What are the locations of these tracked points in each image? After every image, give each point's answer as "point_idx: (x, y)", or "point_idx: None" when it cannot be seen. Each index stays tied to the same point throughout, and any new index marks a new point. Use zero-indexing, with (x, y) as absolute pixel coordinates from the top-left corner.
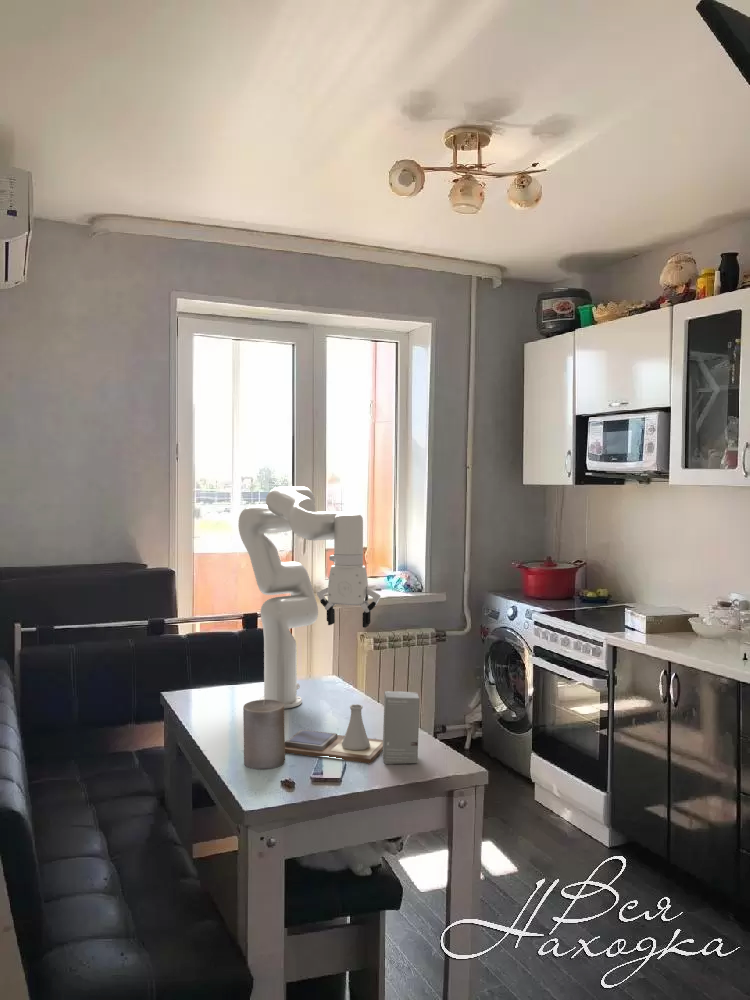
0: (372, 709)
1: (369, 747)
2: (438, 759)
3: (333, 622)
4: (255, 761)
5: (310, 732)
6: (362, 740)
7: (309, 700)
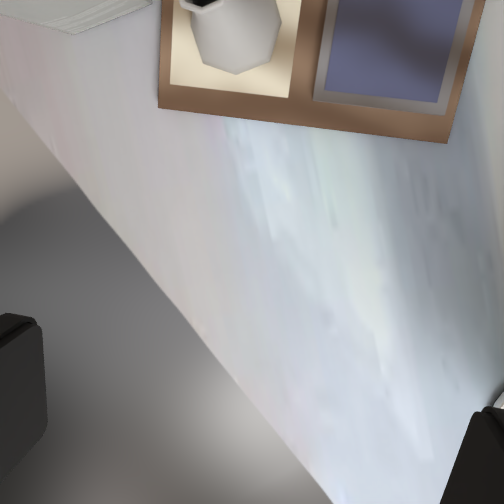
0: (270, 392)
1: None
2: None
3: (450, 498)
4: None
5: (405, 86)
6: None
7: None
